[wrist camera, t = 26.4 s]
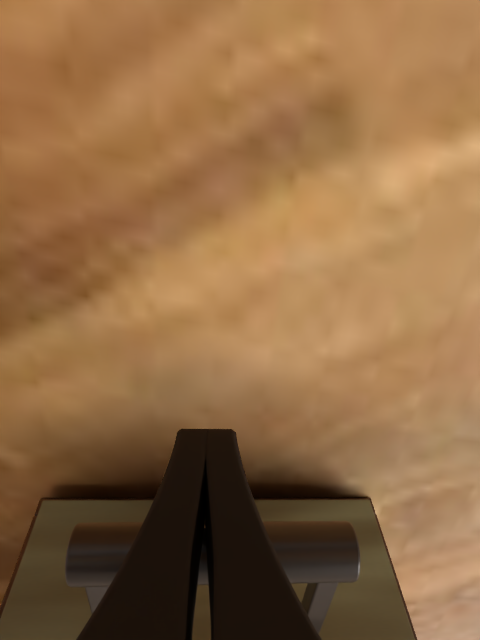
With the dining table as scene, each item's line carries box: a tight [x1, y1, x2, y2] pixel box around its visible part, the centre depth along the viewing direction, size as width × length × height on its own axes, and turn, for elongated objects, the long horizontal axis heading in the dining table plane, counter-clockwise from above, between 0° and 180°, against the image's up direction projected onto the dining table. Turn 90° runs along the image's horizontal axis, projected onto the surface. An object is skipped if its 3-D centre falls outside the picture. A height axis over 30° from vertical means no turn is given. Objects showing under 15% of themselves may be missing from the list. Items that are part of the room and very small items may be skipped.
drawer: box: [0, 500, 415, 640], centre depth 18 cm, size 19×13×6 cm
